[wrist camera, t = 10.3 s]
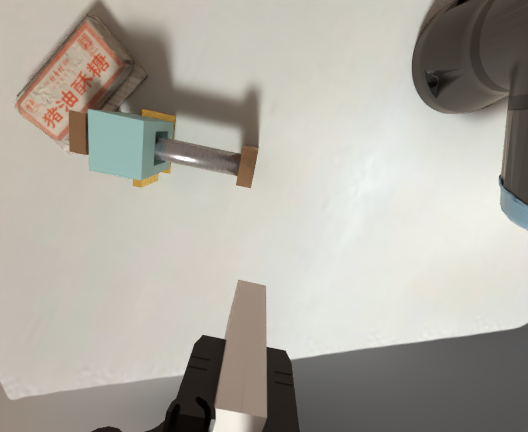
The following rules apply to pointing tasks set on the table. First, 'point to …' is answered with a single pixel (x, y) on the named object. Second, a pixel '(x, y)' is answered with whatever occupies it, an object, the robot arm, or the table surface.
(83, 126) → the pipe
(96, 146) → the collar
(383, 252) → the table surface
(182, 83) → the table surface
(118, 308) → the table surface
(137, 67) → the packaged product
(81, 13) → the table surface
